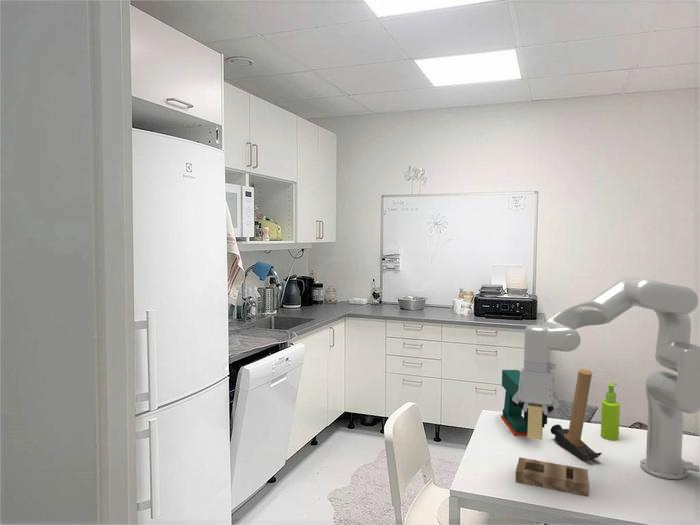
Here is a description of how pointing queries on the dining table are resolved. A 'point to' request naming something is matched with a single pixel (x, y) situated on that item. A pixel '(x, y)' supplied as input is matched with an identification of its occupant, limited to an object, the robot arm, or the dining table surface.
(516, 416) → the power tool
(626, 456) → the dining table surface
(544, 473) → the block
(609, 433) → the soap dispenser
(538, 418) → the square bit
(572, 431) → the hammer
